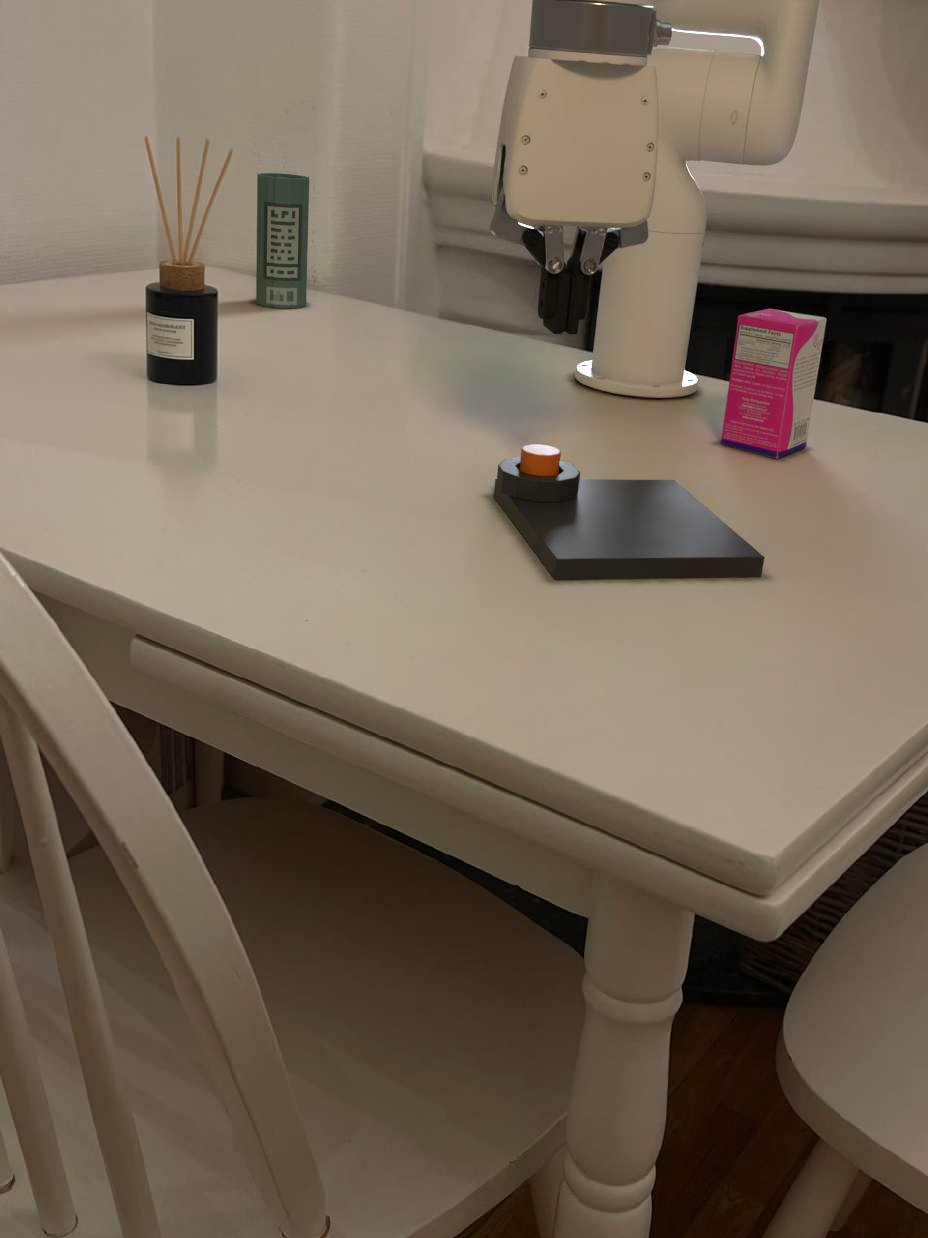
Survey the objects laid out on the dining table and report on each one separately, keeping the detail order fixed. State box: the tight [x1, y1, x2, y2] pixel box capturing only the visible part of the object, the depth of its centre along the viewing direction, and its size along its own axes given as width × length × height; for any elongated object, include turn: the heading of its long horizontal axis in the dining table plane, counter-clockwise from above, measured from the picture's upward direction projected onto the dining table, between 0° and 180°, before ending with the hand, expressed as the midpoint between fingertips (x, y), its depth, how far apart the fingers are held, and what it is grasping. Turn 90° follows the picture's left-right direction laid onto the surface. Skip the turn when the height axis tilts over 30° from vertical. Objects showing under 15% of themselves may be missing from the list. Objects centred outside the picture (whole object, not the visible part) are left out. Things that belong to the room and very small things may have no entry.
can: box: [255, 172, 310, 309], centre depth 153 cm, size 6×6×15 cm
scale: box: [493, 456, 765, 581], centre depth 87 cm, size 16×14×3 cm
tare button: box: [519, 443, 562, 476], centre depth 89 cm, size 3×3×2 cm
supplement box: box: [720, 308, 827, 460], centre depth 109 cm, size 6×6×12 cm
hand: (559, 329), depth 87 cm, fingers closed
